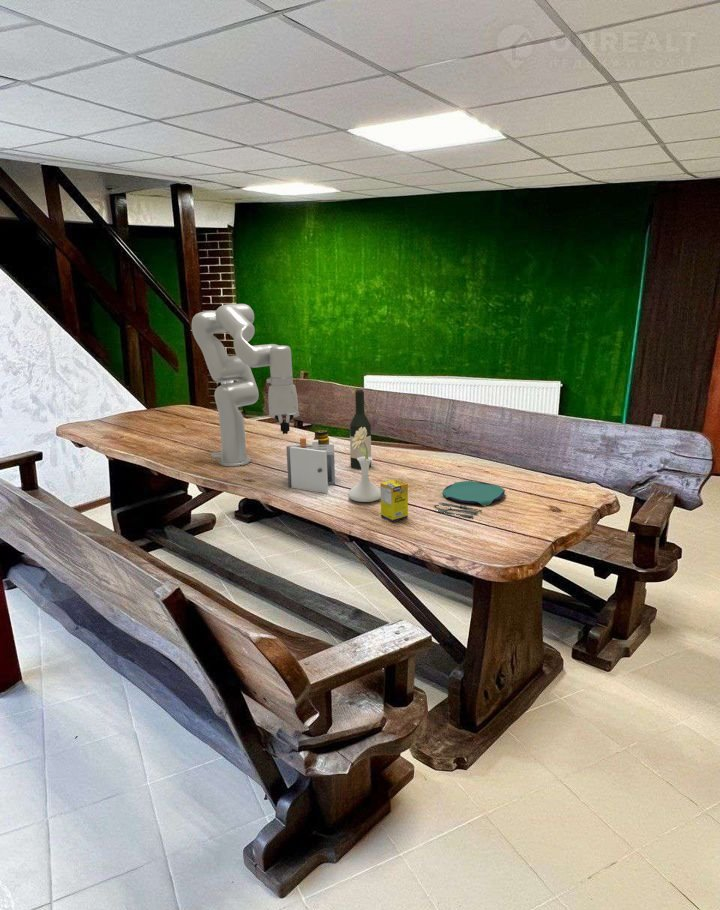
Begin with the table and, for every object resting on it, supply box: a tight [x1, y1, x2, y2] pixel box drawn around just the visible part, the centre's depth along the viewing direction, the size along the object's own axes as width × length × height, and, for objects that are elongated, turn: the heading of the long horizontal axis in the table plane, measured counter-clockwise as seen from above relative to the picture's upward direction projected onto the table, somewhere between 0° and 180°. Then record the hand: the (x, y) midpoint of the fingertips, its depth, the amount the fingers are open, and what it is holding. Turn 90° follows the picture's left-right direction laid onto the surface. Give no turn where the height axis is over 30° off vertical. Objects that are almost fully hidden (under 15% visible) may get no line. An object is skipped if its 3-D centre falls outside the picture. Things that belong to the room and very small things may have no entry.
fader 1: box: [299, 436, 307, 447], centre depth 217 cm, size 2×2×3 cm
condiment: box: [313, 429, 330, 445], centre depth 242 cm, size 7×8×12 cm
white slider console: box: [289, 444, 336, 486], centre depth 216 cm, size 16×10×12 cm, turn 92°
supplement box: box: [380, 478, 409, 522], centre depth 181 cm, size 6×6×11 cm
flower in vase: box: [347, 427, 381, 503], centre depth 194 cm, size 13×11×25 cm
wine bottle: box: [349, 388, 372, 470], centre depth 230 cm, size 8×8×30 cm
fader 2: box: [311, 439, 318, 449], centre depth 213 cm, size 2×2×3 cm
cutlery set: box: [433, 480, 506, 519], centre depth 196 cm, size 20×30×2 cm, turn 146°
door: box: [286, 445, 329, 494], centre depth 206 cm, size 16×2×14 cm, turn 62°
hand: (285, 433), depth 215 cm, fingers closed
